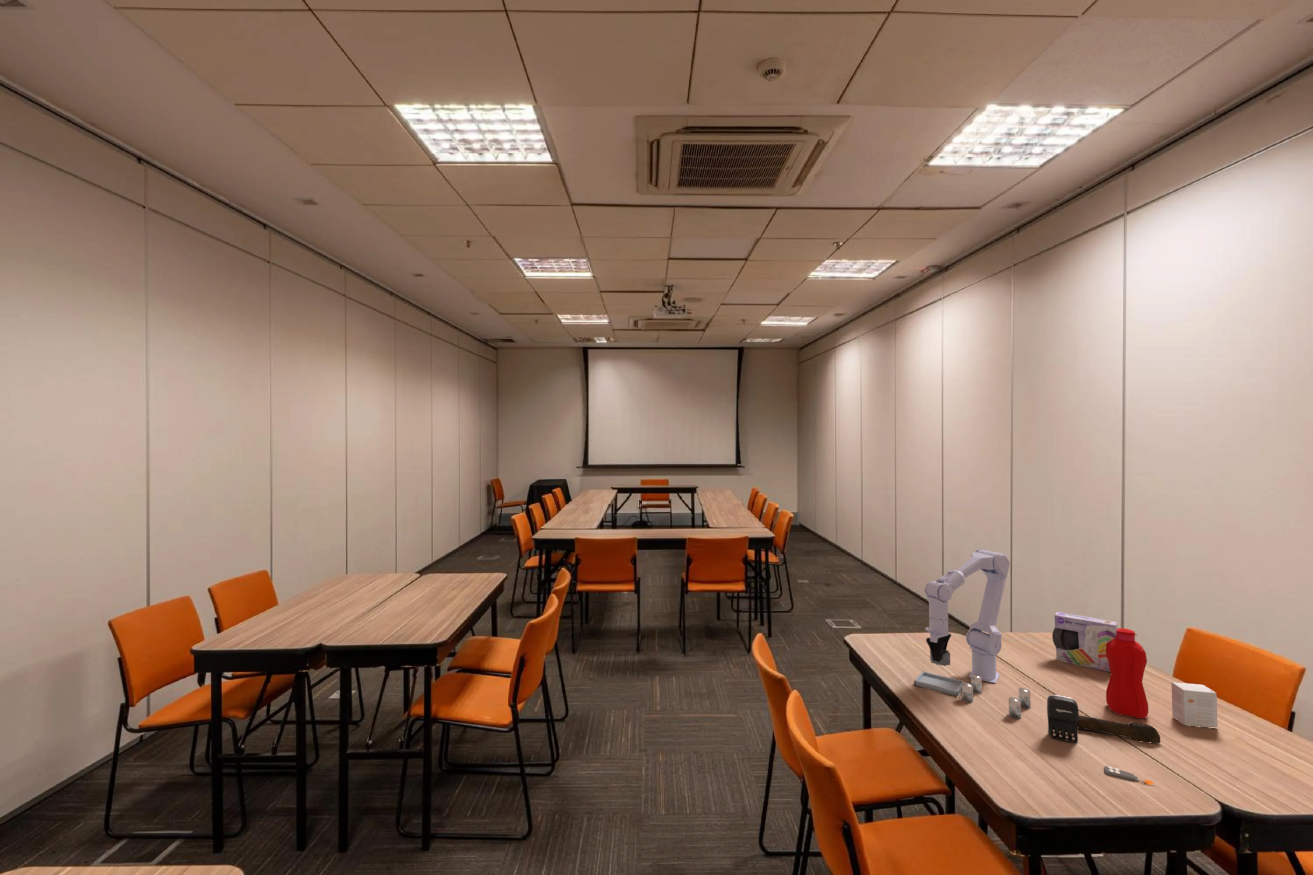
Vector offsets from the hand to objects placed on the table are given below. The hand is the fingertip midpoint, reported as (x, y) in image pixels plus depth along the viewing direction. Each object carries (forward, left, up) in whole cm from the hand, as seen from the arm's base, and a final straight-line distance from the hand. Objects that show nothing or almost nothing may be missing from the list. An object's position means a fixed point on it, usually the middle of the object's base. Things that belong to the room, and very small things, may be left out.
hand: (939, 657), depth 184 cm
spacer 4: (-1, +24, -9) cm, 26 cm away
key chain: (+26, +50, -10) cm, 57 cm away
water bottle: (-16, +48, -10) cm, 51 cm away
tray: (0, 0, -9) cm, 9 cm away
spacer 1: (+6, +10, -9) cm, 15 cm away
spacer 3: (+8, +23, -9) cm, 26 cm away
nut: (0, 0, -2) cm, 2 cm away
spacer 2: (-3, +11, -9) cm, 14 cm away
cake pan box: (-52, +38, -10) cm, 65 cm away
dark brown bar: (+3, +45, -10) cm, 47 cm away
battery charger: (+15, +35, -10) cm, 39 cm away
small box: (-20, +63, -10) cm, 67 cm away
